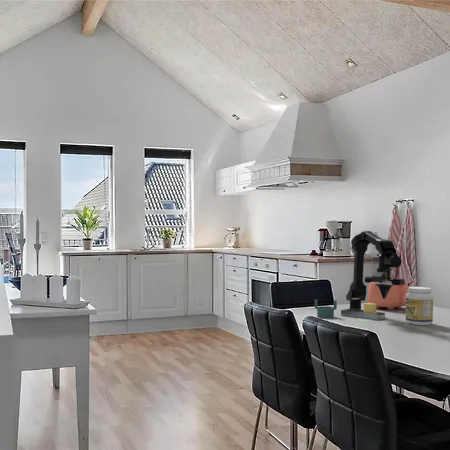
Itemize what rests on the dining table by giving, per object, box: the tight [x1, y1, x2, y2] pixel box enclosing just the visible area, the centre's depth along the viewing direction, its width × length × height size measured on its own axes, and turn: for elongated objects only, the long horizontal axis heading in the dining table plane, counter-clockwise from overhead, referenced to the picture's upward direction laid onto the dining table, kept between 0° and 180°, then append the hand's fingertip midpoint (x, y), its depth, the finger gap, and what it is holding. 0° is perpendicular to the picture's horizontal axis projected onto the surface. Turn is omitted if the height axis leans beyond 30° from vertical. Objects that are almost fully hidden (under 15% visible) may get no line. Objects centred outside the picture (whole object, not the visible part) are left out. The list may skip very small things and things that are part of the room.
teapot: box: [367, 276, 409, 311], centre depth 338 cm, size 25×23×18 cm
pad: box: [350, 317, 375, 323], centre depth 287 cm, size 9×9×1 cm
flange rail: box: [340, 308, 386, 321], centre depth 298 cm, size 9×20×3 cm, turn 47°
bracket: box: [314, 299, 338, 319], centre depth 297 cm, size 9×9×9 cm
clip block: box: [363, 302, 377, 314], centre depth 295 cm, size 4×4×5 cm
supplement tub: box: [405, 286, 434, 326], centre depth 283 cm, size 12×12×17 cm
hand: (384, 298), depth 290 cm, fingers closed
